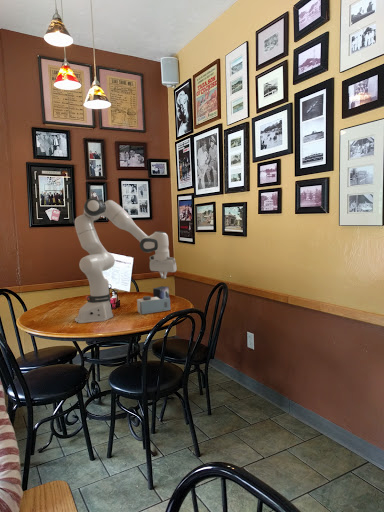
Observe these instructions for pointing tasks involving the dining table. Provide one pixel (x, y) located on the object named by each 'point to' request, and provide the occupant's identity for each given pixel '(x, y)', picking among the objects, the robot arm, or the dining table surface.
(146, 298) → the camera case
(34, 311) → the dining table surface
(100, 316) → the robot arm
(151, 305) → the case door
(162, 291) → the small box
